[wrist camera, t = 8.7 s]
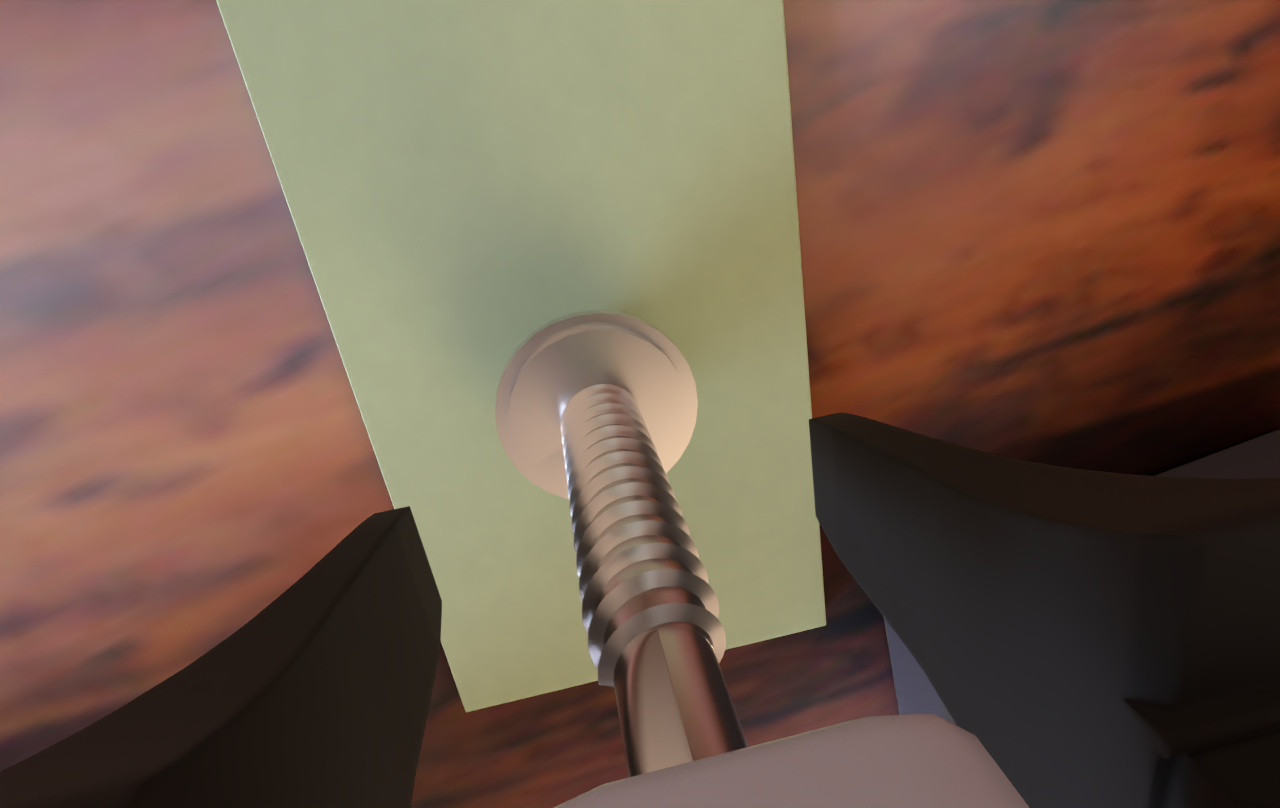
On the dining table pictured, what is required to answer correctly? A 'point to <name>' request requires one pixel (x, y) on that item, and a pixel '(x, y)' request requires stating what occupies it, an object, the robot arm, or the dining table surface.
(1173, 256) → the dining table surface
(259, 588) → the dining table surface
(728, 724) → the screw
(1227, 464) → the calculator
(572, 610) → the mat
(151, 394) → the dining table surface
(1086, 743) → the robot arm
